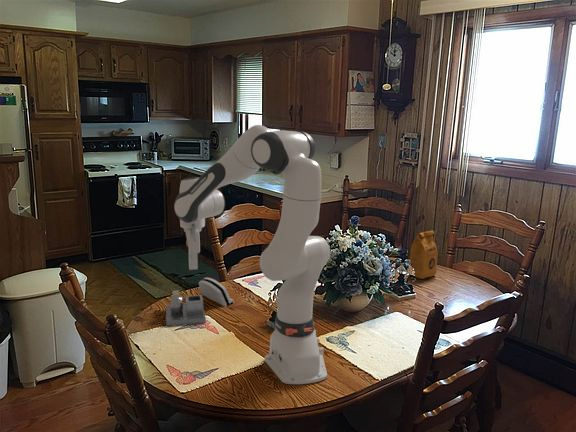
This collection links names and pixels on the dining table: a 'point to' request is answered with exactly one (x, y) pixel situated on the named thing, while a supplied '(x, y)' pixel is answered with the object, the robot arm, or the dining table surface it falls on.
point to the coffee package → (424, 255)
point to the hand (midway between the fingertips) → (193, 258)
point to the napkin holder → (215, 291)
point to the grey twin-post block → (185, 310)
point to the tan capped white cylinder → (192, 263)
